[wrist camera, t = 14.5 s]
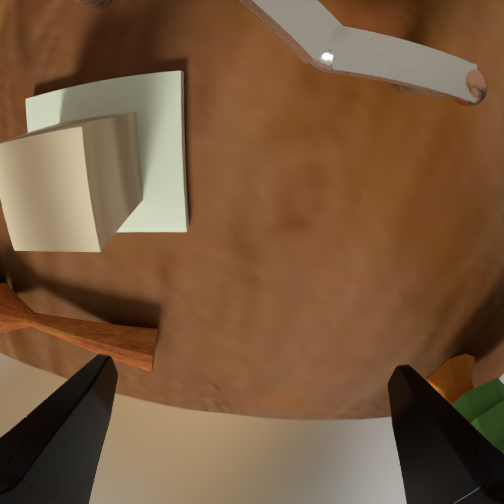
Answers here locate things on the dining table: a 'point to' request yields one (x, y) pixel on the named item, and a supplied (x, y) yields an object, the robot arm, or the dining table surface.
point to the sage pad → (149, 137)
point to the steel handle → (363, 51)
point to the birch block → (70, 183)
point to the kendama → (82, 332)
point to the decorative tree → (472, 397)
